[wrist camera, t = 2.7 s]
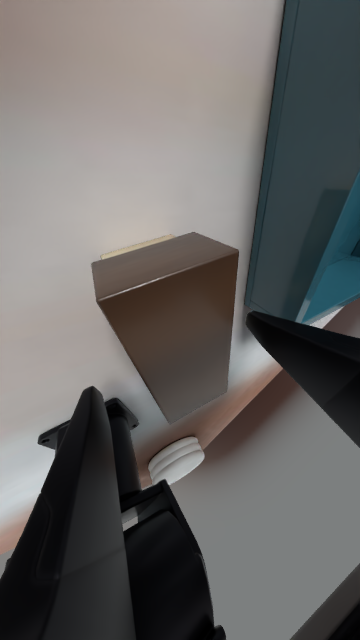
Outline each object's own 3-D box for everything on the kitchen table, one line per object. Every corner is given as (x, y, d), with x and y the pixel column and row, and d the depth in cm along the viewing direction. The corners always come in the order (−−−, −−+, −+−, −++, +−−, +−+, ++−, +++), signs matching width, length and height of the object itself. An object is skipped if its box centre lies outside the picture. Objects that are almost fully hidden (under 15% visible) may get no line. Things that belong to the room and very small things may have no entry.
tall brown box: (193, 344, 15) (227, 391, 12) (147, 366, 14) (169, 425, 11) (175, 224, 9) (240, 249, 5) (88, 248, 8) (95, 300, 4)
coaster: (194, 428, 30) (205, 450, 27) (197, 443, 36) (206, 462, 34) (140, 460, 27) (146, 488, 25) (154, 470, 34) (160, 492, 31)
